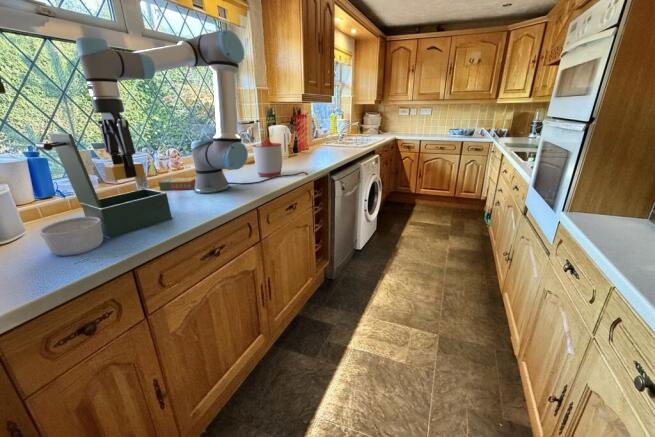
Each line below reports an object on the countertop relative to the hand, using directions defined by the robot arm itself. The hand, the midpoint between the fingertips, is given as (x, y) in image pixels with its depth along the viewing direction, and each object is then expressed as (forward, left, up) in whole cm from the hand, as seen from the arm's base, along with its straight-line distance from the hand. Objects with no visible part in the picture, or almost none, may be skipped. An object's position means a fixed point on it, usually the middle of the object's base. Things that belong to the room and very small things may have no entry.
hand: (126, 176), depth 96 cm
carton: (-37, -34, -16) cm, 53 cm away
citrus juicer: (-78, -13, -16) cm, 81 cm away
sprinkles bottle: (-17, -28, -16) cm, 36 cm away
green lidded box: (+2, 0, -16) cm, 16 cm away
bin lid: (+12, 0, +4) cm, 13 cm away
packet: (0, 0, 0) cm, 0 cm away
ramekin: (+19, +5, -16) cm, 26 cm away
